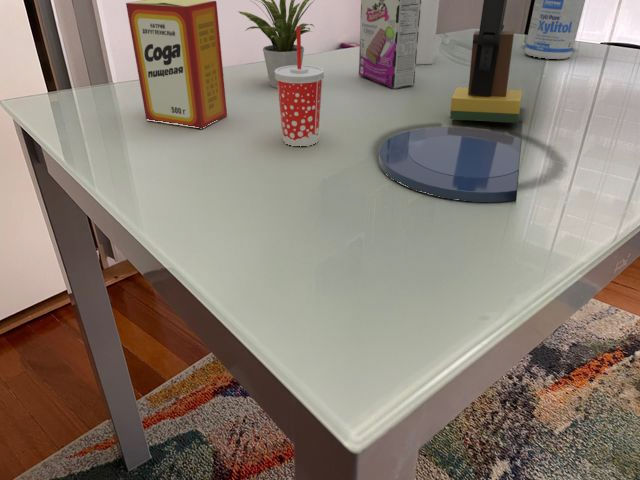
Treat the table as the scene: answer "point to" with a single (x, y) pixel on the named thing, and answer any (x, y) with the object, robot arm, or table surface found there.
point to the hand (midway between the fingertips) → (481, 90)
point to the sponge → (501, 101)
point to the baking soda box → (179, 60)
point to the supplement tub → (553, 28)
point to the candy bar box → (389, 41)
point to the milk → (427, 31)
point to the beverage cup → (299, 100)
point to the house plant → (280, 35)
